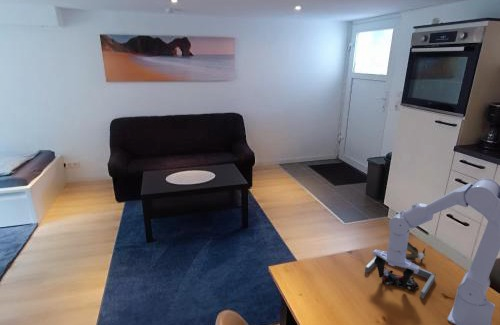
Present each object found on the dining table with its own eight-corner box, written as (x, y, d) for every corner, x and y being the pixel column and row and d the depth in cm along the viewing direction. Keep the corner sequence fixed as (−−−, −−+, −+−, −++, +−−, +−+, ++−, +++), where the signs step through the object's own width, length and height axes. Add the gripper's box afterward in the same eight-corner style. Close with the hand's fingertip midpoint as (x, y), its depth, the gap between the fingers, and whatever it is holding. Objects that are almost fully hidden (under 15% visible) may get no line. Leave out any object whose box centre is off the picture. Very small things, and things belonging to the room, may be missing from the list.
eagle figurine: (422, 252, 124) (398, 244, 127) (428, 245, 118) (403, 236, 121) (419, 269, 120) (395, 260, 123) (426, 262, 114) (400, 253, 117)
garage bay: (434, 279, 109) (435, 274, 109) (423, 298, 101) (424, 292, 100) (379, 257, 123) (379, 251, 122) (364, 272, 114) (365, 266, 113)
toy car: (381, 274, 113) (383, 265, 112) (418, 282, 108) (419, 272, 107) (381, 284, 108) (382, 275, 106) (419, 293, 103) (421, 283, 102)
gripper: (371, 244, 104) (367, 277, 109) (416, 261, 95) (410, 297, 99) (379, 236, 109) (375, 268, 113) (423, 252, 100) (417, 286, 104)
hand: (392, 281), depth 106 cm, fingers open, 7 cm apart
